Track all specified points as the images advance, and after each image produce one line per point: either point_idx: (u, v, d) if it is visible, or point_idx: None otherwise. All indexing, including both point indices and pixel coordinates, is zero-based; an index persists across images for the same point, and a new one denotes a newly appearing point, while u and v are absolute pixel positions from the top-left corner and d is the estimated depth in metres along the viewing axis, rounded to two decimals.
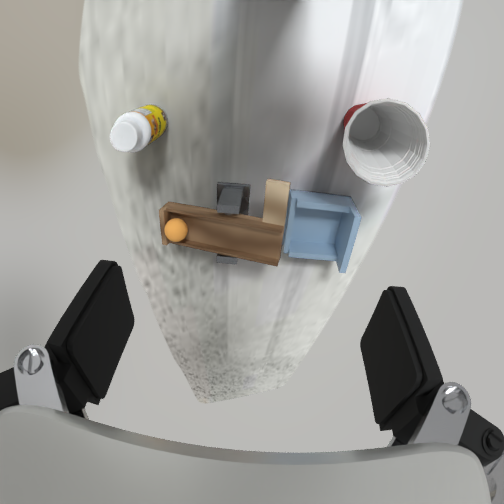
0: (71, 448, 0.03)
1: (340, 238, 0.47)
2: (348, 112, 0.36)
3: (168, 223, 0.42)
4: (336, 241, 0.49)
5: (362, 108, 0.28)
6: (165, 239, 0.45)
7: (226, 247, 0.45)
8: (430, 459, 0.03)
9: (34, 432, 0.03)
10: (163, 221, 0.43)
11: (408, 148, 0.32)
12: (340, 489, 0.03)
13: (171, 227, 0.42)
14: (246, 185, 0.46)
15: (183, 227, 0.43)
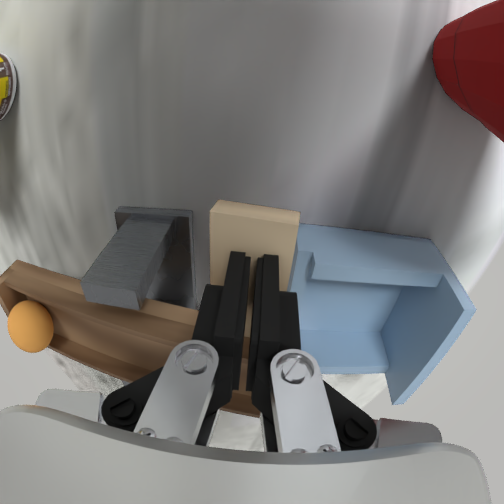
0: (71, 448, 0.03)
1: (402, 334, 0.19)
2: (451, 25, 0.09)
3: (9, 316, 0.14)
4: (387, 331, 0.21)
5: None
6: None
7: (138, 365, 0.17)
8: (430, 459, 0.03)
9: (34, 432, 0.03)
10: (5, 307, 0.14)
11: None
12: (340, 489, 0.03)
13: (13, 327, 0.13)
14: (181, 213, 0.18)
15: (36, 326, 0.14)
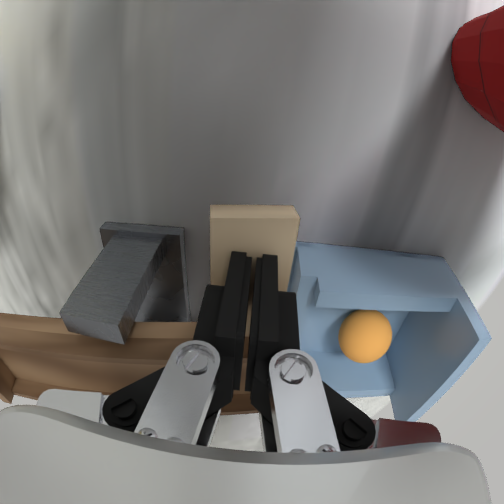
0: (71, 448, 0.03)
1: (410, 357, 0.17)
2: (473, 24, 0.07)
3: (376, 334, 0.16)
4: (394, 351, 0.20)
5: None
6: (2, 395, 0.12)
7: None
8: (430, 459, 0.03)
9: (33, 432, 0.03)
10: None
11: None
12: (340, 489, 0.03)
13: (388, 334, 0.16)
14: (172, 231, 0.16)
15: None
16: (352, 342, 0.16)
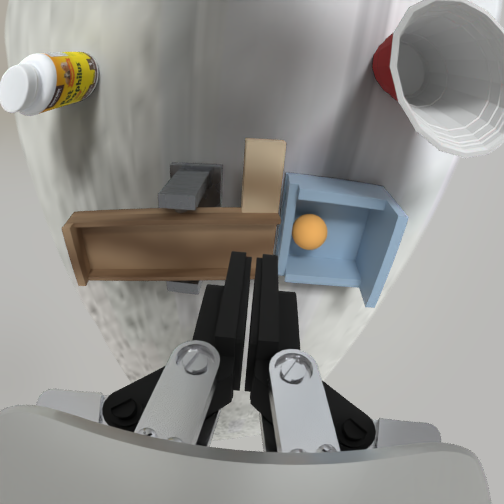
0: (71, 448, 0.03)
1: (367, 252, 0.29)
2: (380, 45, 0.19)
3: (301, 218, 0.28)
4: (359, 256, 0.31)
5: (421, 4, 0.10)
6: (81, 276, 0.24)
7: (183, 267, 0.27)
8: (430, 459, 0.03)
9: (34, 432, 0.03)
10: (72, 246, 0.22)
11: (486, 99, 0.14)
12: (340, 489, 0.03)
13: (305, 225, 0.27)
14: (216, 165, 0.28)
15: (323, 230, 0.27)
16: None
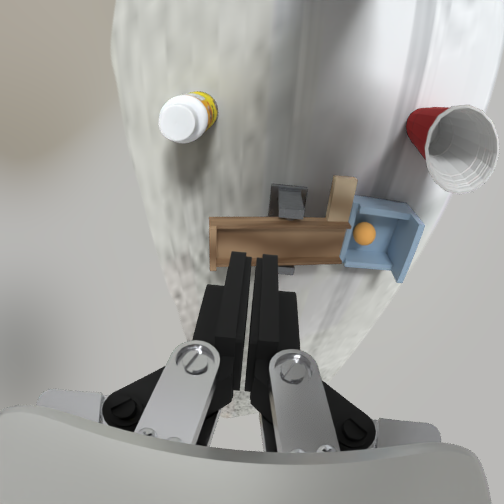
0: (71, 448, 0.03)
1: (397, 247, 0.42)
2: (414, 115, 0.32)
3: (361, 226, 0.41)
4: (390, 249, 0.45)
5: (446, 112, 0.23)
6: (215, 264, 0.37)
7: (284, 256, 0.40)
8: (430, 459, 0.03)
9: (34, 432, 0.03)
10: (215, 242, 0.35)
11: (475, 156, 0.28)
12: (339, 489, 0.03)
13: (365, 230, 0.41)
14: (303, 188, 0.41)
15: (375, 231, 0.41)
16: (355, 226, 0.43)
